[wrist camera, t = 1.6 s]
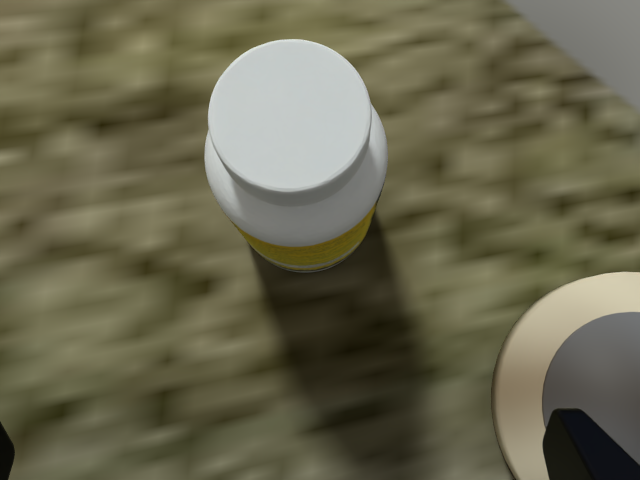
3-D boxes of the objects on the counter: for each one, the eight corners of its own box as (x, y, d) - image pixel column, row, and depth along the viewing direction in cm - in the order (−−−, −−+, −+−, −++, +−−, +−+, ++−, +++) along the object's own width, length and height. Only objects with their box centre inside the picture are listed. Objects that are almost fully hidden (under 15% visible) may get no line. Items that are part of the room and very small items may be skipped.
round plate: (776, 545, 20) (808, 560, 19) (500, 547, 20) (512, 563, 19) (736, 272, 22) (763, 268, 21) (482, 277, 22) (492, 273, 21)
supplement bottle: (390, 250, 23) (432, 185, 13) (262, 291, 22) (209, 257, 13) (348, 129, 23) (359, -16, 14) (225, 168, 23) (149, 48, 14)
